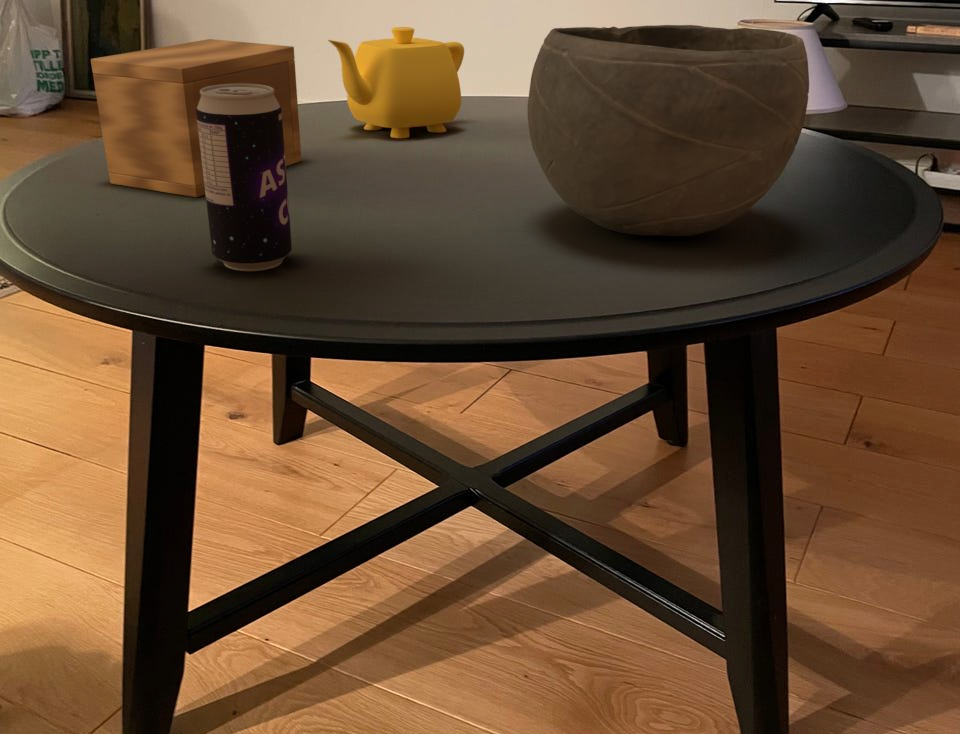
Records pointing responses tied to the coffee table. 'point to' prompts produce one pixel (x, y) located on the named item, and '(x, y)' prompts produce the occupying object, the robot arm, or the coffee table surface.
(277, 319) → the coffee table surface
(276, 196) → the beverage can
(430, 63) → the teapot
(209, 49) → the small wooden crate
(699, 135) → the bowl
